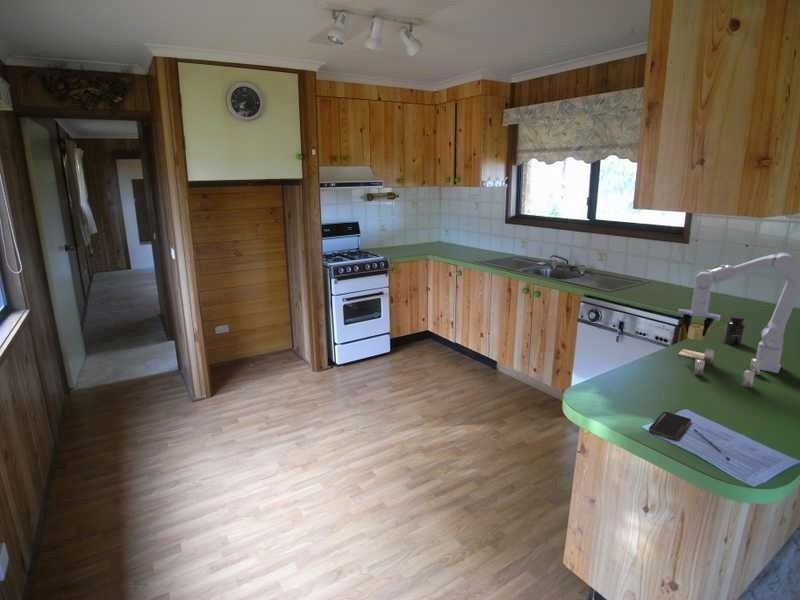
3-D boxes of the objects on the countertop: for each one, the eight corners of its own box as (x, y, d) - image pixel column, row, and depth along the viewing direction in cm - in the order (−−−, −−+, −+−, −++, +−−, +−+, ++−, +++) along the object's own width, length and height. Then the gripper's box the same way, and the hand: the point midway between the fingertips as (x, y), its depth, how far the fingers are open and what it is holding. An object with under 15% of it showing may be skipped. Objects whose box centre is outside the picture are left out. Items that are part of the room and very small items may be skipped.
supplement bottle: (733, 346, 205) (738, 319, 202) (719, 341, 212) (723, 315, 209) (746, 344, 207) (750, 318, 204) (731, 339, 213) (735, 314, 210)
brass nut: (690, 335, 197) (691, 323, 196) (703, 337, 193) (705, 325, 192) (686, 338, 193) (688, 326, 192) (700, 341, 189) (702, 329, 188)
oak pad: (682, 350, 201) (682, 349, 200) (707, 356, 195) (707, 354, 194) (678, 355, 196) (678, 353, 195) (703, 360, 190) (703, 358, 189)
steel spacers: (704, 361, 189) (706, 348, 188) (759, 373, 177) (762, 359, 175) (692, 374, 176) (694, 360, 175) (751, 388, 164) (754, 373, 163)
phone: (648, 428, 138) (664, 410, 148) (647, 432, 138) (663, 414, 148) (678, 438, 132) (692, 419, 143) (677, 442, 133) (692, 422, 143)
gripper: (677, 300, 192) (673, 332, 195) (719, 306, 182) (714, 340, 185) (682, 297, 196) (678, 328, 200) (723, 303, 187) (718, 336, 190)
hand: (695, 334), depth 193 cm, fingers closed on brass nut, 5 cm apart
